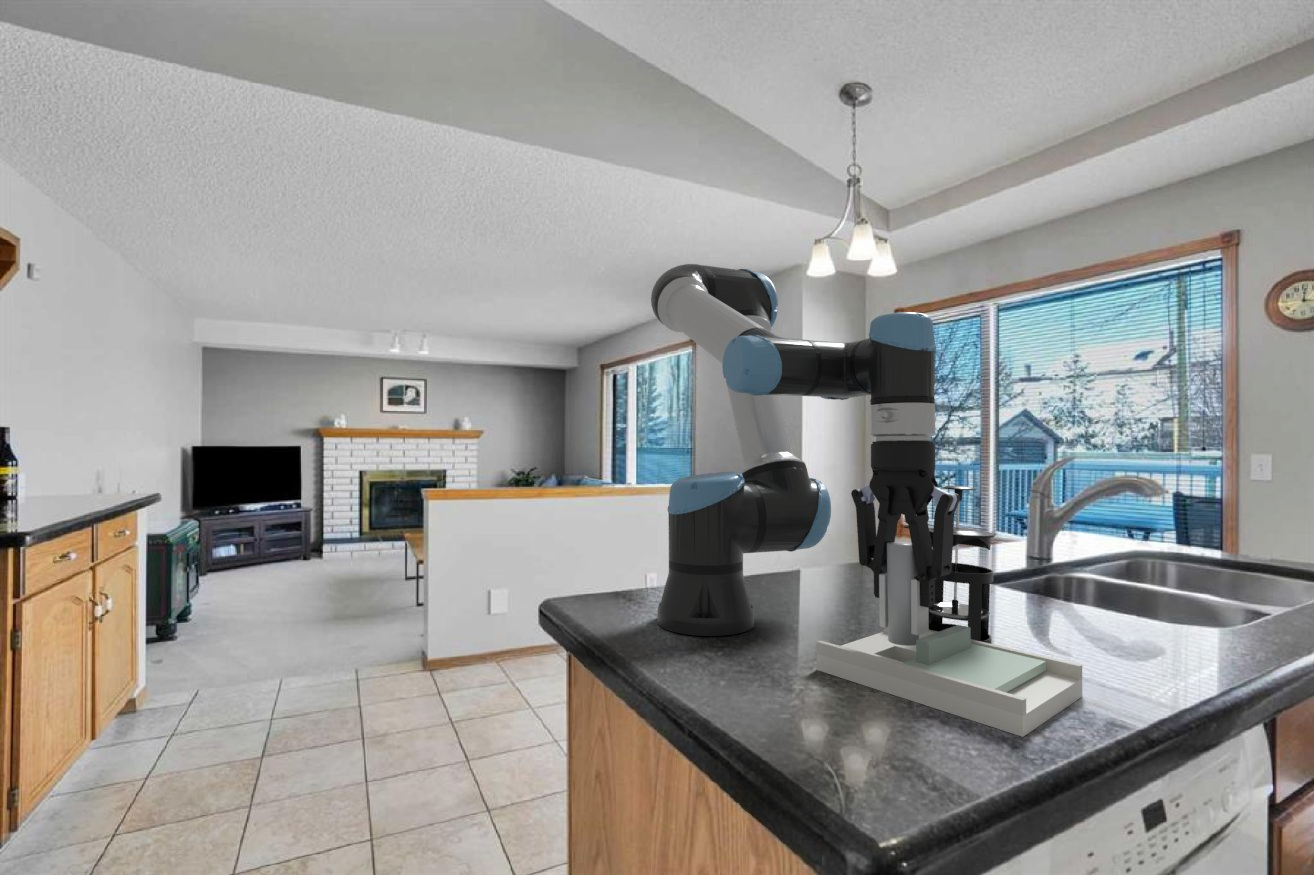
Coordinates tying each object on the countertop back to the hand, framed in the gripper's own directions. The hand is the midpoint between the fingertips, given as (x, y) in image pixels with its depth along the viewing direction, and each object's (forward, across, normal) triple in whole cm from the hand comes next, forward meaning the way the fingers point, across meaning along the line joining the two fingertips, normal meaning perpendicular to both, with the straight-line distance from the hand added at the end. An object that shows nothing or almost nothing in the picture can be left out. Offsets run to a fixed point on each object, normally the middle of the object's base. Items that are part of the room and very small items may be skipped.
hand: (903, 628), depth 81 cm
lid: (+3, +9, 0) cm, 9 cm away
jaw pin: (+2, 0, 0) cm, 2 cm away
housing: (+5, +5, 0) cm, 7 cm away
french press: (+6, 0, +12) cm, 14 cm away
